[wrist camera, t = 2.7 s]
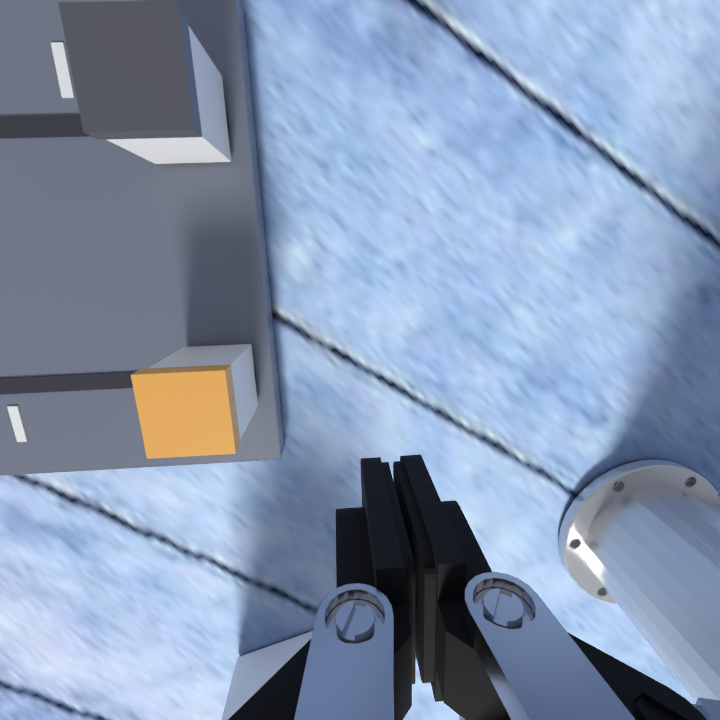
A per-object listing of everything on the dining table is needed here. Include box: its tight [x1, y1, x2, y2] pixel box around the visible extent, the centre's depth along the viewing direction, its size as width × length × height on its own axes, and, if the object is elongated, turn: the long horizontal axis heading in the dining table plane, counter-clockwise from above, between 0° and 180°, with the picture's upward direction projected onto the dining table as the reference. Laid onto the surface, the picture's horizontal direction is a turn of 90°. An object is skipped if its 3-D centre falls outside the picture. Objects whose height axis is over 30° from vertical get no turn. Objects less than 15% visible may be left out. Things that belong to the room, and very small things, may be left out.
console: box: [0, 0, 285, 475], centre depth 23 cm, size 18×26×2 cm
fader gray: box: [58, 1, 231, 164], centre depth 18 cm, size 4×4×6 cm
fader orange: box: [131, 344, 258, 459], centre depth 21 cm, size 4×4×6 cm
